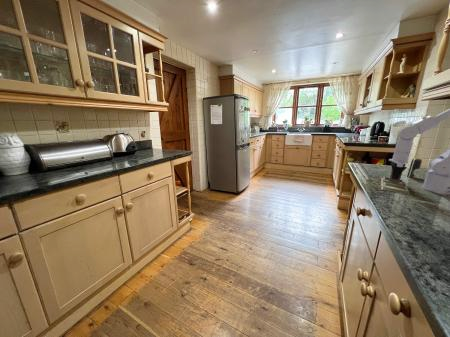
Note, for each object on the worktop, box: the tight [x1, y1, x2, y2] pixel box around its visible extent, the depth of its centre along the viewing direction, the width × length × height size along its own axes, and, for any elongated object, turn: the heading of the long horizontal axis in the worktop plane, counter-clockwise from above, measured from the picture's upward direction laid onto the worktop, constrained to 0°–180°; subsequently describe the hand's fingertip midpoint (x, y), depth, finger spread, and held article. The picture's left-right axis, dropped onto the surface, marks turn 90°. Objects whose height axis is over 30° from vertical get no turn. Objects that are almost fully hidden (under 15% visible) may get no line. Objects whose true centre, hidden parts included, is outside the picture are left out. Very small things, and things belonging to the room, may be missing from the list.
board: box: [380, 176, 410, 196], centre depth 92 cm, size 21×10×2 cm, turn 141°
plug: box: [388, 169, 403, 183], centre depth 96 cm, size 4×4×6 cm
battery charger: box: [406, 157, 423, 179], centre depth 106 cm, size 7×4×11 cm, turn 129°
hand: (394, 178), depth 96 cm, fingers closed on plug, 4 cm apart
